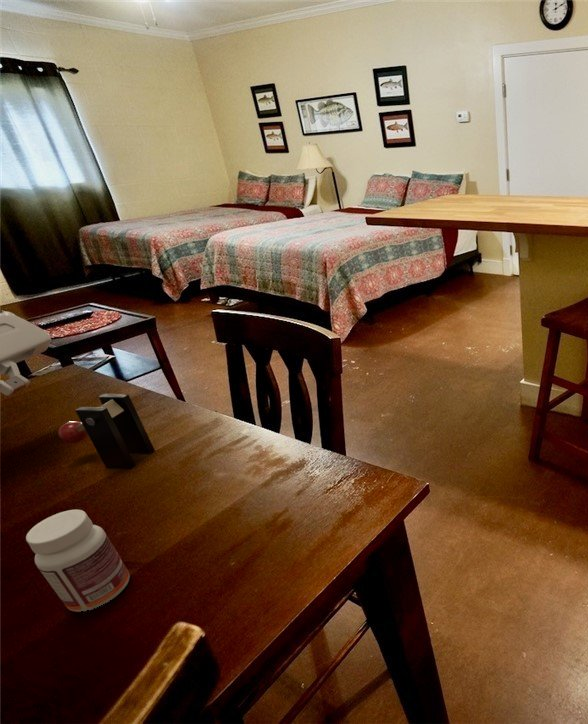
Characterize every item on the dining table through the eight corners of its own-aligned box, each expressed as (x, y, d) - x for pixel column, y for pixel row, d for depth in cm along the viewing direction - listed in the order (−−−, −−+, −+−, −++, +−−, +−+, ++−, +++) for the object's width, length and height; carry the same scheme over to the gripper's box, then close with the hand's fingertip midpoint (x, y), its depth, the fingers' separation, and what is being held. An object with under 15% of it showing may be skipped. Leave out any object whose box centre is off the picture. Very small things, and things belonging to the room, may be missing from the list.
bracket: (91, 478, 78) (54, 413, 72) (127, 452, 84) (96, 390, 79) (142, 480, 77) (109, 415, 72) (174, 453, 84) (146, 391, 78)
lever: (66, 450, 78) (47, 434, 77) (86, 437, 81) (68, 422, 80) (111, 423, 75) (93, 405, 73) (131, 410, 78) (113, 394, 77)
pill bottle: (140, 566, 62) (103, 501, 57) (115, 607, 57) (72, 539, 52) (85, 576, 61) (42, 511, 56) (54, 619, 56) (4, 551, 50)
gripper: (-4, 319, 82) (74, 370, 85) (-171, 374, 63) (-62, 437, 67) (7, 294, 79) (87, 349, 83) (-163, 345, 61) (-51, 412, 65)
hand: (19, 389), depth 75 cm, fingers closed
